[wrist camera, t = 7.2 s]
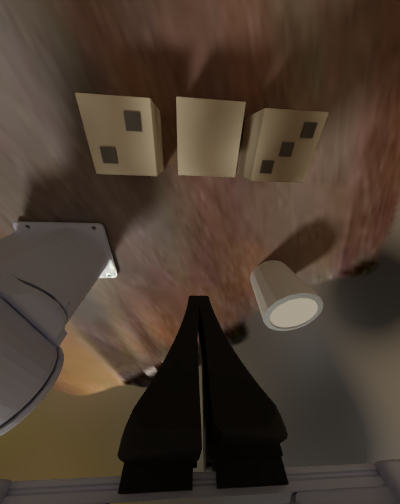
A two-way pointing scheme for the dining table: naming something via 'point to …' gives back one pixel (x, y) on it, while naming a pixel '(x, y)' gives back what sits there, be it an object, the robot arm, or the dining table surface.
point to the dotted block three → (279, 144)
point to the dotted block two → (122, 134)
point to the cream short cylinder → (283, 297)
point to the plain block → (208, 136)
